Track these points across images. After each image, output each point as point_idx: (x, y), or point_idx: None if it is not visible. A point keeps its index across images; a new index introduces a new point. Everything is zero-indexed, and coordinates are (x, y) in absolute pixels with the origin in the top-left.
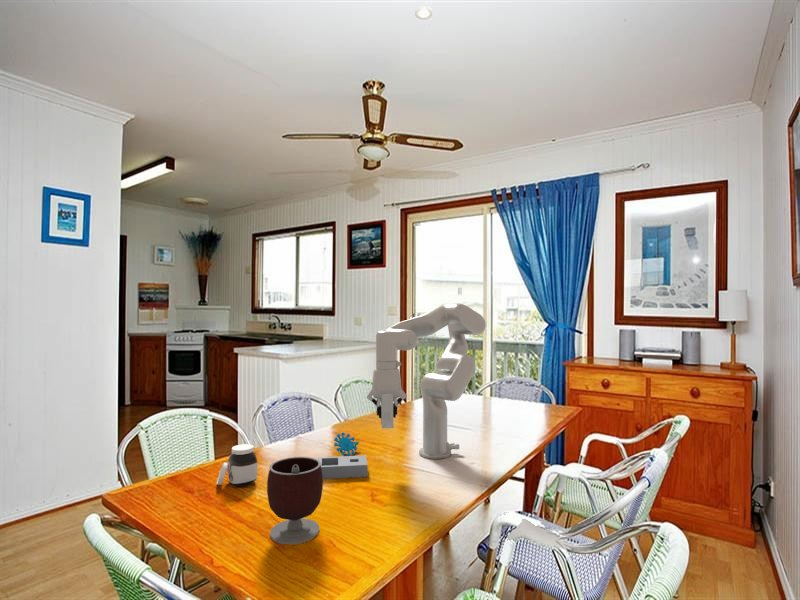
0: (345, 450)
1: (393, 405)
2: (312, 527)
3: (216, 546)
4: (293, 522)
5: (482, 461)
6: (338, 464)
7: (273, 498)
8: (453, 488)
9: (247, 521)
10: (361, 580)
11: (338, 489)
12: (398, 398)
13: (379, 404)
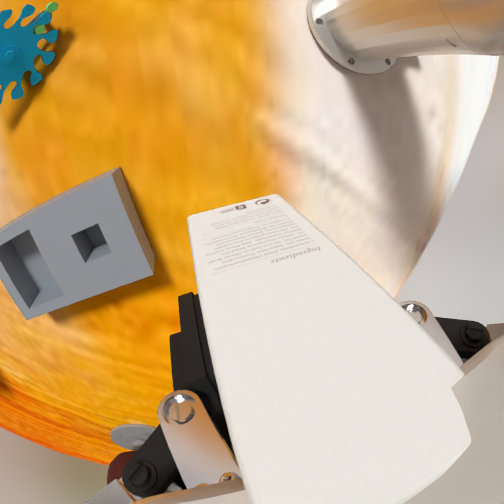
0: (19, 81)
1: None
2: None
3: (87, 452)
4: None
5: (447, 104)
6: (63, 291)
7: None
8: (372, 274)
9: (68, 427)
10: None
11: (116, 340)
12: (464, 358)
13: (230, 449)
